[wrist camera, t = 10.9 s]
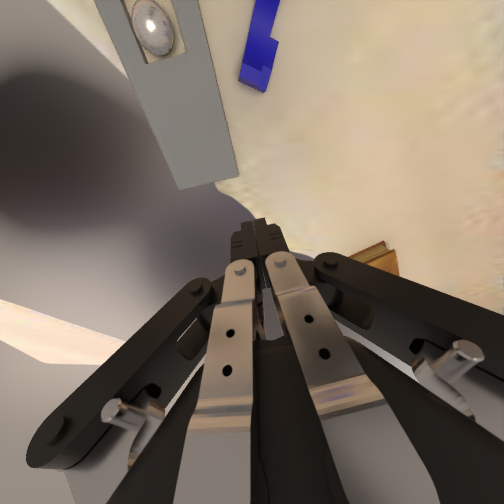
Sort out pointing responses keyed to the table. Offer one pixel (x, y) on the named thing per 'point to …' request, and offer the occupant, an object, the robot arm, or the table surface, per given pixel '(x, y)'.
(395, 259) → the diary
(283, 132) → the table surface
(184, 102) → the pocket slab
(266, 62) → the cable clip
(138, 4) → the steel ball
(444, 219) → the table surface
